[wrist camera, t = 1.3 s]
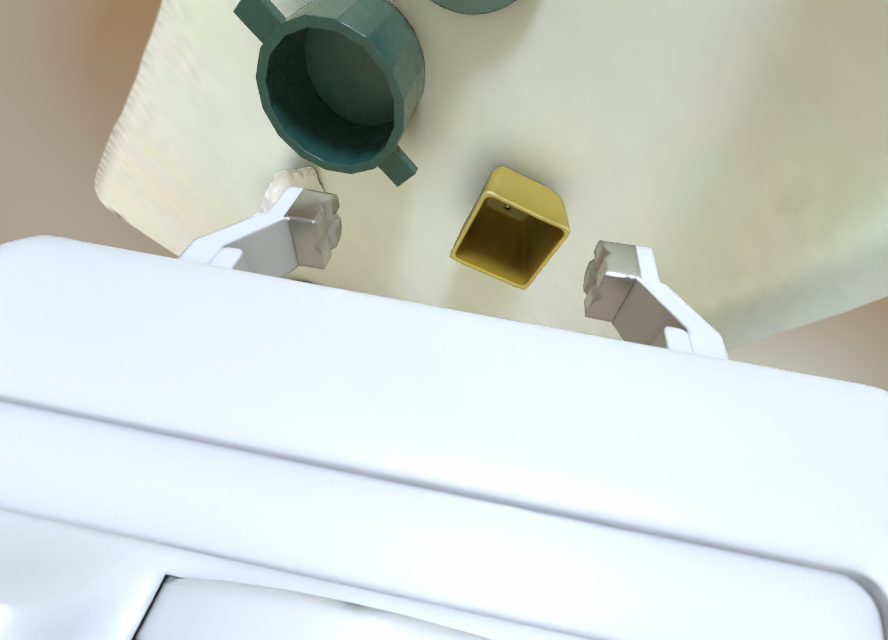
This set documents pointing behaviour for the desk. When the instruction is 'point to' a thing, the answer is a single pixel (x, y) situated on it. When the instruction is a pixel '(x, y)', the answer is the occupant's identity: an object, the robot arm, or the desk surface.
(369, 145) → the pot
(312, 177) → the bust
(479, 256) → the flower pot
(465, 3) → the lid
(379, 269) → the desk surface
